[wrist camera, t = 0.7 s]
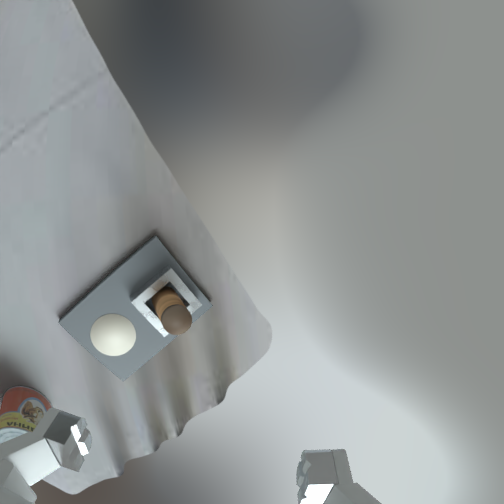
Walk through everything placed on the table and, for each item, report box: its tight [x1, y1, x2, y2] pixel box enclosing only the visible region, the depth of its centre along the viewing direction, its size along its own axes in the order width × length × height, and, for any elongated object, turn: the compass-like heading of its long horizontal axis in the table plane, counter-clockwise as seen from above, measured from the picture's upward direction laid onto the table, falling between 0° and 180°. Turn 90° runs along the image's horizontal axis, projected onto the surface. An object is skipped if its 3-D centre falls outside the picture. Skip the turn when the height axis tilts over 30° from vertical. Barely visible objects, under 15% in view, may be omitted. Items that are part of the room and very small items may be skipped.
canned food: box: [0, 386, 52, 444], centre depth 39 cm, size 11×11×12 cm
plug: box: [152, 286, 192, 335], centre depth 48 cm, size 4×4×9 cm
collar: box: [130, 264, 202, 337], centre depth 51 cm, size 8×8×2 cm
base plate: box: [59, 235, 213, 381], centre depth 51 cm, size 16×22×1 cm
